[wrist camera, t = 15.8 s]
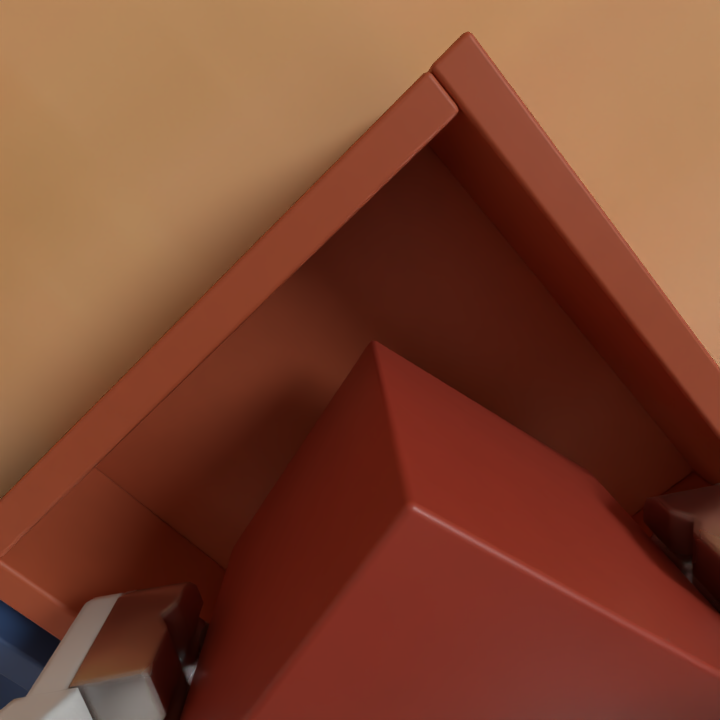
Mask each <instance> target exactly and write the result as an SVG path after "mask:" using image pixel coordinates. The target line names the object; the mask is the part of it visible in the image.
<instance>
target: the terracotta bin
mask: <svg viewBox="0 0 720 720" xmlns="http://www.w3.org/2000/svg"><path fill="white" fill-rule="evenodd" d="M372 340H373V341H377V342H379V343H380V344H382V345H383V346H385V347H387V348H388V349H390V350H392V351H393V352H395V353H396V354H398V355H400V356H401V357H403V358H405V359H406V360H408V361H410V362H411V363H413V364H414V365H416V366H418V367H419V368H421V369H423V370H424V371H426V372H427V373H429V374H431V375H432V376H434V377H436V378H437V379H439V380H440V381H442V382H444V383H445V384H447V385H449V386H450V387H452V388H454V389H455V390H457V391H458V392H460V393H462V394H463V395H465V396H467V397H468V398H470V399H471V400H473V401H475V402H476V403H478V404H480V405H481V406H483V407H484V408H486V409H488V410H489V411H491V412H493V413H494V414H496V415H498V416H499V417H501V418H502V419H504V420H506V421H507V422H509V423H511V424H512V425H514V426H515V427H517V428H519V429H520V430H522V431H524V432H525V433H527V434H528V435H530V436H532V437H533V438H535V439H537V440H538V441H540V442H542V443H543V444H545V445H546V446H548V447H550V448H551V449H553V450H555V451H556V452H558V453H559V454H561V455H563V456H564V457H566V458H568V459H569V460H571V461H572V462H574V463H576V464H577V465H579V466H581V467H582V468H584V469H586V470H587V471H589V472H590V473H591V474H592V475H593V476H594V477H595V478H596V479H597V480H598V481H599V482H600V484H601V485H602V486H603V487H604V488H605V489H606V490H607V491H608V492H609V493H610V495H611V496H612V497H613V498H614V499H615V500H616V501H617V502H618V503H619V504H620V505H621V507H622V508H623V509H624V510H625V511H626V512H627V513H628V514H629V515H630V516H631V517H632V519H633V520H634V521H635V522H636V523H637V524H638V525H639V526H640V527H641V528H642V529H643V531H644V532H645V533H646V534H647V535H648V536H649V537H650V538H651V536H652V535H653V532H652V530H651V529H650V528H649V527H648V526H647V525H646V524H645V523H644V510H643V507H644V505H645V502H646V499H647V498H650V497H655V496H660V495H666V494H671V493H676V492H681V491H687V490H692V489H697V488H703V487H708V486H714V485H715V484H717V483H720V368H719V367H718V365H717V364H716V363H715V361H714V360H713V358H712V357H711V356H710V354H709V353H708V352H707V350H706V349H705V348H704V346H703V345H702V344H701V342H700V341H699V340H698V338H697V337H696V335H695V334H694V333H693V331H692V330H691V329H690V327H689V326H688V325H687V323H686V322H685V321H684V319H683V318H682V317H681V315H680V314H679V313H678V311H677V310H676V308H675V307H674V306H673V304H672V303H671V302H670V300H669V299H668V298H667V296H666V295H665V294H664V292H663V291H662V290H661V288H660V287H659V285H658V284H657V283H656V281H655V280H654V279H653V277H652V276H651V275H650V273H649V272H648V271H647V269H646V268H645V267H644V265H643V264H642V262H641V261H640V260H639V258H638V257H637V256H636V254H635V253H634V252H633V250H632V249H631V248H630V246H629V245H628V244H627V242H626V241H625V240H624V238H623V237H622V235H621V234H620V233H619V231H618V230H617V229H616V227H615V226H614V225H613V223H612V222H611V221H610V219H609V218H608V217H607V215H606V214H605V212H604V211H603V210H602V208H601V207H600V206H599V204H598V203H597V202H596V200H595V199H594V198H593V196H592V195H591V194H590V192H589V191H588V189H587V188H586V187H585V185H584V184H583V183H582V181H581V180H580V179H579V177H578V176H577V175H576V173H575V172H574V171H573V169H572V168H571V166H570V165H569V164H568V162H567V161H566V160H565V158H564V157H563V156H562V154H561V153H560V152H559V150H558V149H557V148H556V146H555V145H554V144H553V142H552V141H551V139H550V138H549V137H548V135H547V134H546V133H545V131H544V130H543V129H542V127H541V126H540V125H539V123H538V122H537V121H536V119H535V118H534V116H533V115H532V114H531V112H530V111H529V110H528V108H527V107H526V106H525V104H524V103H523V102H522V100H521V99H520V98H519V96H518V95H517V93H516V92H515V91H514V89H513V88H512V87H511V85H510V84H509V83H508V81H507V80H506V79H505V77H504V76H503V75H502V73H501V72H500V71H499V69H498V68H497V66H496V65H495V64H494V62H493V61H492V60H491V58H490V57H489V56H488V54H487V53H486V52H485V50H484V49H483V48H482V46H481V45H480V43H479V42H478V41H477V39H476V38H475V37H474V35H473V34H472V33H470V32H466V33H463V34H462V35H461V36H460V37H459V38H458V39H457V40H456V41H455V42H454V43H453V44H452V45H451V46H450V47H449V48H448V49H447V50H446V51H445V52H444V53H443V54H442V55H441V56H440V57H439V58H438V59H437V60H436V61H435V62H434V63H433V65H432V66H431V68H430V69H429V71H428V72H426V73H424V74H423V75H422V76H421V77H420V78H419V79H418V80H417V81H416V82H415V83H414V84H413V85H412V86H411V87H410V88H409V89H408V90H407V91H406V92H405V93H404V94H403V95H402V96H401V97H400V98H399V99H398V100H397V101H396V102H395V103H394V104H393V105H392V106H391V107H390V108H389V109H388V110H387V111H386V112H385V113H384V114H383V115H382V116H381V117H380V118H379V119H378V120H377V121H376V122H375V123H374V124H373V125H372V126H371V127H370V128H369V129H368V130H367V131H366V132H365V133H364V134H363V135H362V136H361V137H360V138H359V139H358V140H357V141H356V142H355V143H354V144H353V145H352V146H351V147H350V148H349V149H348V150H347V151H346V152H345V153H344V154H343V155H342V156H341V157H340V158H339V159H338V160H337V161H336V162H335V163H334V164H333V165H332V166H331V167H330V168H329V169H328V170H327V171H326V172H325V173H324V174H323V175H322V176H321V177H320V178H319V179H318V180H317V181H316V182H315V183H314V184H313V185H312V186H311V187H310V188H309V189H308V190H307V191H306V192H305V193H304V194H303V195H302V196H301V197H300V198H299V199H298V200H297V201H296V202H295V203H294V204H293V205H292V207H291V208H290V209H289V210H288V211H287V212H286V213H285V214H284V215H283V216H282V217H281V218H280V219H279V220H278V221H277V222H276V223H275V224H274V225H273V226H272V227H271V228H270V229H269V230H268V231H267V232H266V233H265V234H264V235H263V236H262V237H261V238H260V239H259V240H258V241H257V242H256V243H255V244H254V245H253V246H252V247H251V248H250V249H249V250H248V251H247V252H246V253H245V254H244V255H243V256H242V257H241V258H240V259H239V260H238V261H237V262H236V263H235V264H234V265H233V266H232V267H231V268H230V269H229V270H228V271H227V272H226V273H225V274H224V275H223V276H222V277H221V278H220V279H219V280H218V281H217V282H216V283H215V284H214V285H213V286H212V287H211V288H210V289H209V290H208V291H207V292H206V293H205V294H204V295H203V296H202V297H201V298H200V299H199V300H198V301H197V302H196V303H195V304H194V305H193V306H192V307H191V308H190V309H189V310H188V311H187V312H186V313H185V314H184V315H183V316H182V317H181V318H180V319H179V320H178V321H177V322H176V323H175V324H174V325H173V326H172V327H171V328H170V329H169V330H168V331H167V332H166V333H165V334H164V335H163V336H162V337H161V338H160V339H159V340H158V341H157V342H156V343H155V344H154V345H153V347H152V348H151V349H150V350H149V351H148V352H147V353H146V354H145V355H144V356H143V357H142V358H141V359H140V360H139V361H138V362H137V363H136V364H135V365H134V366H133V367H132V368H131V369H130V370H129V371H128V372H127V373H126V374H125V375H124V376H123V377H122V378H121V379H120V380H119V381H118V382H117V383H116V384H115V385H114V386H113V387H112V388H111V389H110V390H109V391H108V392H107V393H106V394H105V395H104V396H103V397H102V398H101V399H100V400H99V401H98V402H97V403H96V404H95V405H94V406H93V407H92V408H91V409H90V410H89V411H88V412H87V413H86V414H85V415H84V416H83V417H82V418H81V419H80V420H79V421H78V422H77V423H76V424H75V425H74V426H73V427H72V428H71V429H70V430H69V431H68V432H67V433H66V434H65V435H64V436H63V437H62V438H61V439H60V440H59V441H58V442H57V443H56V444H55V445H54V446H53V447H52V448H51V449H50V450H49V451H48V452H47V453H46V454H45V455H44V456H43V457H42V458H41V459H40V460H39V461H38V462H37V463H36V464H35V465H34V466H33V467H32V468H31V469H30V470H29V471H28V472H27V473H26V474H25V475H24V476H23V477H22V478H21V479H20V480H19V481H18V482H17V483H16V484H15V485H14V486H13V488H12V489H11V490H10V491H9V492H8V493H7V494H6V495H5V496H4V497H3V498H2V499H1V500H0V600H1V601H3V602H4V603H6V604H7V605H9V606H10V607H12V608H13V609H15V610H16V611H18V612H19V613H21V614H22V615H24V616H25V617H27V618H28V619H30V620H31V621H32V622H34V623H35V624H37V625H38V626H40V627H41V628H43V629H44V630H46V631H47V632H49V633H50V634H52V635H53V636H55V637H56V638H58V639H59V640H62V639H63V637H64V636H65V634H66V633H67V631H68V629H69V628H70V626H71V625H72V623H73V622H74V620H75V618H76V617H77V615H78V614H79V612H80V611H81V609H82V607H83V606H84V604H85V603H86V602H88V601H90V600H91V599H93V598H95V597H100V596H106V595H112V594H117V593H126V592H128V591H134V590H140V589H146V588H153V587H159V586H165V585H171V584H178V583H184V582H192V583H194V584H196V585H197V587H198V590H199V592H200V595H201V597H202V600H203V602H204V603H203V606H202V609H201V612H200V615H199V617H200V618H201V619H203V620H204V621H206V622H207V623H209V624H210V621H211V617H212V614H213V611H214V608H215V604H216V601H217V598H218V595H219V592H220V588H221V585H222V582H223V579H224V575H225V572H226V569H227V566H228V562H229V559H230V556H231V553H232V550H233V547H234V545H235V544H236V542H237V541H238V539H239V538H240V536H241V535H242V533H243V532H244V530H245V529H246V527H247V526H248V524H249V523H250V521H251V520H252V518H253V517H254V515H255V514H256V512H257V511H258V509H259V508H260V506H261V505H262V503H263V502H264V500H265V499H266V497H267V496H268V494H269V493H270V491H271V490H272V488H273V487H274V485H275V484H276V482H277V481H278V479H279V478H280V476H281V475H282V473H283V472H284V470H285V469H286V467H287V466H288V464H289V463H290V461H291V460H292V458H293V457H294V455H295V454H296V452H297V451H298V449H299V448H300V446H301V445H302V443H303V442H304V440H305V439H306V437H307V436H308V434H309V433H310V431H311V430H312V428H313V427H314V425H315V424H316V422H317V421H318V419H319V418H320V416H321V415H322V413H323V412H324V410H325V409H326V407H327V406H328V404H329V403H330V401H331V400H332V398H333V397H334V395H335V394H336V392H337V391H338V389H339V388H340V386H341V385H342V383H343V382H344V380H345V379H346V377H347V376H348V374H349V373H350V371H351V370H352V368H353V367H354V365H355V364H356V362H357V361H358V359H359V358H360V356H361V354H362V353H363V351H364V350H365V348H366V347H367V345H368V344H369V342H371V341H372Z"/></svg>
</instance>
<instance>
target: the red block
mask: <svg viewBox="0 0 720 720" xmlns="http://www.w3.org/2000/svg"><path fill="white" fill-rule="evenodd" d="M180 720H720V614H719V612H718V611H717V610H716V609H715V608H714V607H713V606H712V605H711V604H710V603H709V602H708V600H707V599H706V598H705V597H704V596H703V595H702V594H701V593H700V592H699V591H698V589H697V588H696V587H695V586H694V585H693V584H692V583H691V582H690V581H689V580H688V579H687V577H686V576H685V575H684V574H683V573H682V572H681V571H680V570H679V569H678V568H677V567H676V565H675V564H674V563H673V562H672V561H671V560H670V559H669V558H668V557H667V556H666V555H665V553H664V552H663V551H662V550H661V549H660V548H659V547H658V546H657V545H656V544H655V543H654V541H653V540H652V539H651V538H650V537H649V536H648V535H647V534H646V533H645V532H644V531H643V529H642V528H641V527H640V526H639V525H638V524H637V523H636V522H635V521H634V520H633V519H632V517H631V516H630V515H629V514H628V513H627V512H626V511H625V510H624V509H623V508H622V507H621V505H620V504H619V503H618V502H617V501H616V500H615V499H614V498H613V497H612V496H611V495H610V493H609V492H608V491H607V490H606V489H605V488H604V487H603V486H602V485H601V484H600V482H599V481H598V480H597V479H596V478H595V477H594V476H593V475H592V474H591V473H590V472H589V471H587V470H586V469H584V468H582V467H581V466H579V465H577V464H576V463H574V462H572V461H571V460H569V459H568V458H566V457H564V456H563V455H561V454H559V453H558V452H556V451H555V450H553V449H551V448H550V447H548V446H546V445H545V444H543V443H542V442H540V441H538V440H537V439H535V438H533V437H532V436H530V435H528V434H527V433H525V432H524V431H522V430H520V429H519V428H517V427H515V426H514V425H512V424H511V423H509V422H507V421H506V420H504V419H502V418H501V417H499V416H498V415H496V414H494V413H493V412H491V411H489V410H488V409H486V408H484V407H483V406H481V405H480V404H478V403H476V402H475V401H473V400H471V399H470V398H468V397H467V396H465V395H463V394H462V393H460V392H458V391H457V390H455V389H454V388H452V387H450V386H449V385H447V384H445V383H444V382H442V381H440V380H439V379H437V378H436V377H434V376H432V375H431V374H429V373H427V372H426V371H424V370H423V369H421V368H419V367H418V366H416V365H414V364H413V363H411V362H410V361H408V360H406V359H405V358H403V357H401V356H400V355H398V354H396V353H395V352H393V351H392V350H390V349H388V348H387V347H385V346H383V345H382V344H380V343H379V342H377V341H373V340H372V341H371V342H369V344H368V345H367V347H366V348H365V350H364V351H363V353H362V354H361V356H360V358H359V359H358V361H357V362H356V364H355V365H354V367H353V368H352V370H351V371H350V373H349V374H348V376H347V377H346V379H345V380H344V382H343V383H342V385H341V386H340V388H339V389H338V391H337V392H336V394H335V395H334V397H333V398H332V400H331V401H330V403H329V404H328V406H327V407H326V409H325V410H324V412H323V413H322V415H321V416H320V418H319V419H318V421H317V422H316V424H315V425H314V427H313V428H312V430H311V431H310V433H309V434H308V436H307V437H306V439H305V440H304V442H303V443H302V445H301V446H300V448H299V449H298V451H297V452H296V454H295V455H294V457H293V458H292V460H291V461H290V463H289V464H288V466H287V467H286V469H285V470H284V472H283V473H282V475H281V476H280V478H279V479H278V481H277V482H276V484H275V485H274V487H273V488H272V490H271V491H270V493H269V494H268V496H267V497H266V499H265V500H264V502H263V503H262V505H261V506H260V508H259V509H258V511H257V512H256V514H255V515H254V517H253V518H252V520H251V521H250V523H249V524H248V526H247V527H246V529H245V530H244V532H243V533H242V535H241V536H240V538H239V539H238V541H237V542H236V544H235V545H234V547H233V550H232V553H231V556H230V559H229V562H228V566H227V569H226V572H225V575H224V579H223V582H222V585H221V588H220V592H219V595H218V598H217V601H216V604H215V608H214V611H213V614H212V617H211V621H210V624H209V627H208V630H207V634H206V637H205V640H204V643H203V646H202V650H201V653H200V656H199V659H198V663H197V666H196V669H195V672H194V676H193V679H192V682H191V685H190V689H189V692H188V695H187V698H186V701H185V705H184V708H183V711H182V714H181V718H180Z"/></svg>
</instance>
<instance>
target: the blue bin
mask: <svg viewBox="0 0 720 720" xmlns="http://www.w3.org/2000/svg"><path fill="white" fill-rule="evenodd" d="M60 642H61V640H59V639H58V638H56V637H55V636H53V635H52V634H50V633H49V632H47V631H46V630H44V629H43V628H41V627H40V626H38V625H37V624H35V623H34V622H32V621H31V620H30V619H28V618H27V617H25V616H24V615H22V614H21V613H19V612H18V611H16V610H15V609H13V608H12V607H10V606H9V605H7V604H6V603H4V602H3V601H1V600H0V710H1V709H2V708H3V707H5V706H6V705H7V704H8V703H10V702H11V701H12V700H13V699H16V698H21V697H26V695H27V694H28V692H29V691H30V689H31V688H32V686H33V684H34V683H35V681H36V680H37V678H38V677H39V675H40V673H41V672H42V670H43V669H44V667H45V666H46V664H47V662H48V661H49V659H50V658H51V656H52V655H53V653H54V651H55V650H56V648H57V647H58V645H59V644H60Z"/></svg>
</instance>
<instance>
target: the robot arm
mask: <svg viewBox="0 0 720 720" xmlns="http://www.w3.org/2000/svg"><path fill="white" fill-rule="evenodd" d="M643 510H644V523H645V524H646V525H647V526H648V527H649V528H650V529H651V530H652V532H653V535H652V536H651V539H652V540H653V541H654V543H655V544H656V545H657V546H658V547H659V548H660V549H661V550H662V551H663V552H664V553H665V555H666V556H667V557H668V558H669V559H670V560H671V561H672V562H673V563H674V564H675V565H676V567H677V568H678V569H679V570H680V571H681V572H682V573H683V574H684V575H685V576H686V577H687V579H688V580H689V581H690V582H691V583H692V584H693V585H694V586H695V587H696V588H697V589H698V591H699V592H700V593H701V594H702V595H703V596H704V597H705V598H706V599H707V600H708V602H709V603H710V604H711V605H712V606H713V607H714V608H715V609H716V610H717V611H718V612H719V614H720V483H717V484H715V485H714V486H708V487H703V488H697V489H692V490H687V491H681V492H676V493H671V494H666V495H660V496H655V497H650V498H647V499H646V502H645V505H644V507H643ZM203 603H204V602H203V600H202V597H201V595H200V592H199V590H198V587H197V585H196V584H194V583H192V582H184V583H178V584H171V585H165V586H159V587H153V588H146V589H140V590H134V591H128V592H126V593H117V594H112V595H106V596H100V597H95V598H93V599H91V600H90V601H88V602H86V603H85V604H84V606H83V607H82V609H81V611H80V612H79V614H78V615H77V617H76V618H75V620H74V622H73V623H72V625H71V626H70V628H69V629H68V631H67V633H66V634H65V636H64V637H63V639H62V640H61V642H60V644H59V645H58V647H57V648H56V650H55V651H54V653H53V655H52V656H51V658H50V659H49V661H48V662H47V664H46V666H45V667H44V669H43V670H42V672H41V673H40V675H39V677H38V678H37V680H36V681H35V683H34V684H33V686H32V688H31V689H30V691H29V692H28V694H27V695H26V697H21V698H16V699H13V700H12V701H11V702H10V703H8V704H7V705H6V706H5V707H3V708H2V709H1V710H0V720H180V718H181V714H182V711H183V708H184V705H185V701H186V698H187V695H188V692H189V689H190V685H191V682H192V679H193V676H194V672H195V669H196V666H197V663H198V659H199V656H200V653H201V650H202V646H203V643H204V640H205V637H206V634H207V630H208V627H209V623H207V622H206V621H204V620H203V619H201V618H200V617H199V615H200V612H201V609H202V606H203Z"/></svg>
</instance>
